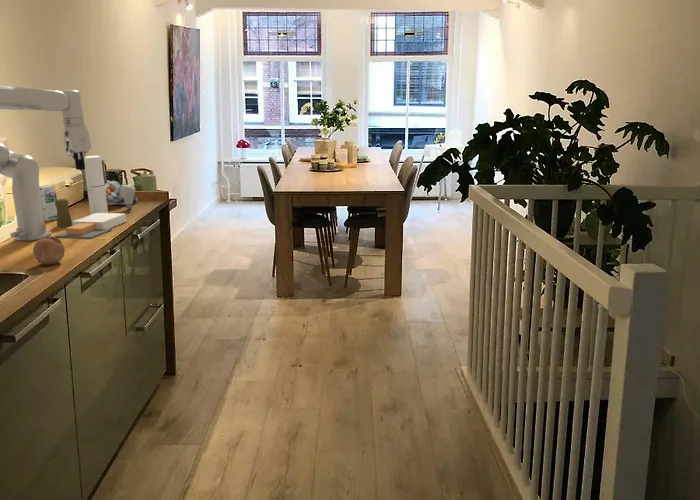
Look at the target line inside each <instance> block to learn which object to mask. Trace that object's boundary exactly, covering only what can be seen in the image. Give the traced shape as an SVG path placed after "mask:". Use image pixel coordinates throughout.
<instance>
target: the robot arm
mask: <svg viewBox="0 0 700 500" xmlns="http://www.w3.org/2000/svg"><path fill="white" fill-rule="evenodd" d="M0 110H8V111H9V110H12V111H14V110H15V111H26V110H28V111H30V110H31V111H32V110H33V111H34V110H35V111H47V112H61V115H62V124H63V142H64V149H65V151H66V153H67V156H69V157H72V158H73V161H74V165H75V169H76V170H79V171H80V170H85V163H84V159H85V157H86V154H88V153H89V151H90V150H91V149H92V145H91V139H90V134H89V130H88V127H87V125H86V124H85V121H84V118H85V117H84V113H83V104H82V97H81V93H80V91H79V90H77V89H64V90H61V91H59V90H53V89H39V88H31V87H30V88H29V87H24V86H15V85H4V84H0ZM0 175H3V176H5V177H8V178H9V179H12V180H11V181H12V183H11V184H12V185H11V191H12V198H13V204H14V211H15V216H16V223H17V227H16V231H13V232H11V233H10V234H9V236H10V238H12V239H15V240H16V241H19V242H22V241H25V242H27V241H28V242H29V241H38V240H40V239H43V238H47V237H51V236H52V232H51V231H50V230H47V228H46V222H45V220H44V214H43V207H42V200H41V194H40V187H39V186H40V168H39V165H38V162H37V161H36V159H35V158H33V156H31V155H29V154H24V153H16V152H13V151H11V150H9V148H8V147H7V146H6V145H5V144H4V143H3V142H0Z"/></svg>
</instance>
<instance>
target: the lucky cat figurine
mask: <svg viewBox="0 0 700 500" xmlns="http://www.w3.org/2000/svg"><path fill="white" fill-rule="evenodd" d="M104 185H105V193H106V200H108V203H109V205H110V206H114V205H115V206H116V205H117V206H118V205H119V206H120V205H123V206H126V204H125V200H124V198H123V197H122V195H121V193H120V190H121V188H122V187H123V186H124V185H127V184H126V183H125V184H124V185H121V184H120V182H119V181H116V180H112V181H111V180H110V179H108V180H106V181H105V180H104ZM137 202H138V198H137V197H136V196H135V194H134V196H133V203H132V206H133V205H136V203H137Z"/></svg>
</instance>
